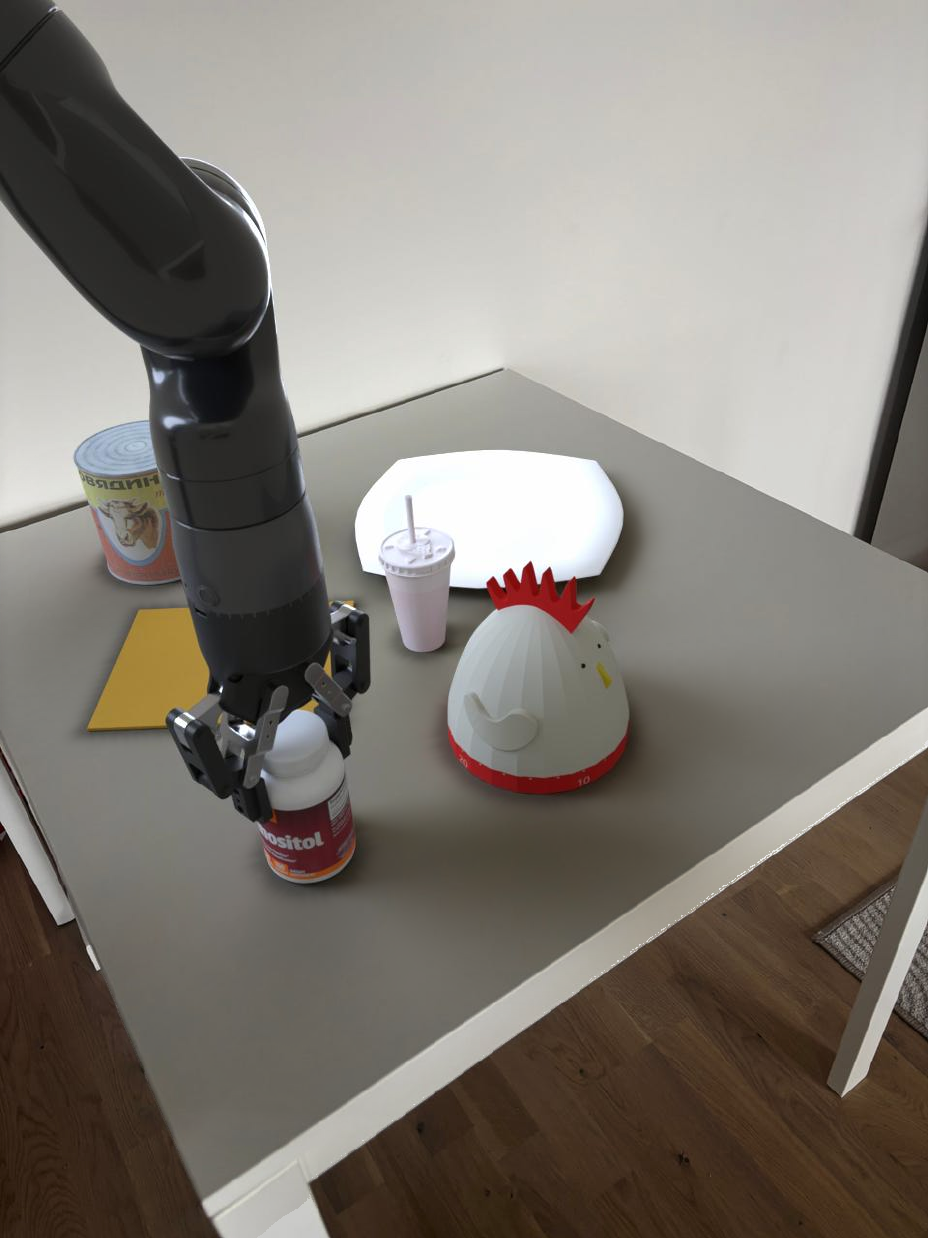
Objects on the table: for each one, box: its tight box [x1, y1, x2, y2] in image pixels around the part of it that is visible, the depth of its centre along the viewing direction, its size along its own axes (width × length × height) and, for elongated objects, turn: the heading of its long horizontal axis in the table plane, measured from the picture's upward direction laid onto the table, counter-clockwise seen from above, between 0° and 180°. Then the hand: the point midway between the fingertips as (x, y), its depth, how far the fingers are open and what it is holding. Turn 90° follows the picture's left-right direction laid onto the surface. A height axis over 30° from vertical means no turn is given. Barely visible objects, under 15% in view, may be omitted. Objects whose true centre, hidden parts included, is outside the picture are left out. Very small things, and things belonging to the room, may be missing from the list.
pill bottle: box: [254, 710, 357, 884], centre depth 63 cm, size 6×6×11 cm
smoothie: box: [378, 495, 456, 653], centre depth 81 cm, size 6×6×14 cm
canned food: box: [72, 419, 182, 586], centre depth 95 cm, size 11×11×12 cm
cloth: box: [86, 600, 355, 732], centre depth 83 cm, size 20×16×1 cm
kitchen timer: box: [447, 561, 630, 795], centre depth 71 cm, size 14×14×15 cm
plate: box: [354, 449, 625, 591], centre depth 99 cm, size 27×27×2 cm
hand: (297, 783), depth 63 cm, fingers closed on pill bottle, 6 cm apart
